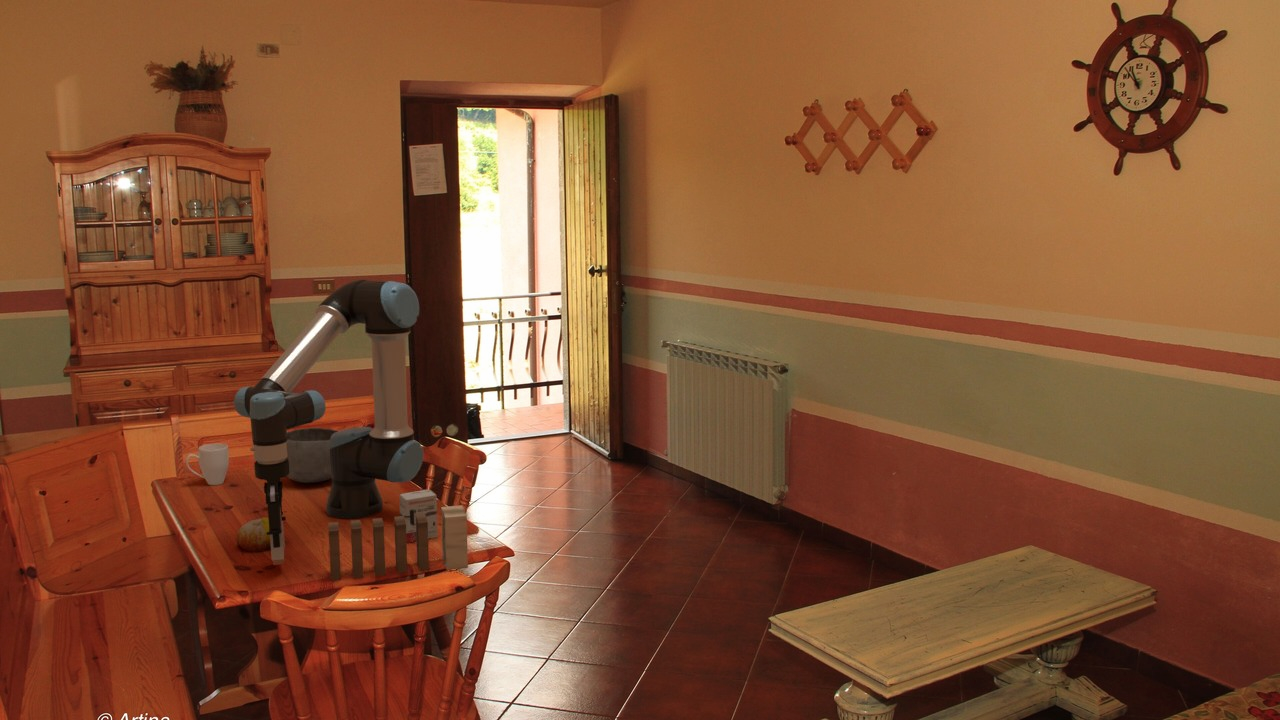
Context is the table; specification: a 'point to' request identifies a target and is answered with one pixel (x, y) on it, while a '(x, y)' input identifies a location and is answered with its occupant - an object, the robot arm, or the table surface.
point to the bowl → (309, 454)
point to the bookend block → (454, 537)
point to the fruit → (254, 535)
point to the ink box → (419, 512)
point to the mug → (212, 462)
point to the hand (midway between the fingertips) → (278, 553)
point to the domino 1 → (283, 547)
